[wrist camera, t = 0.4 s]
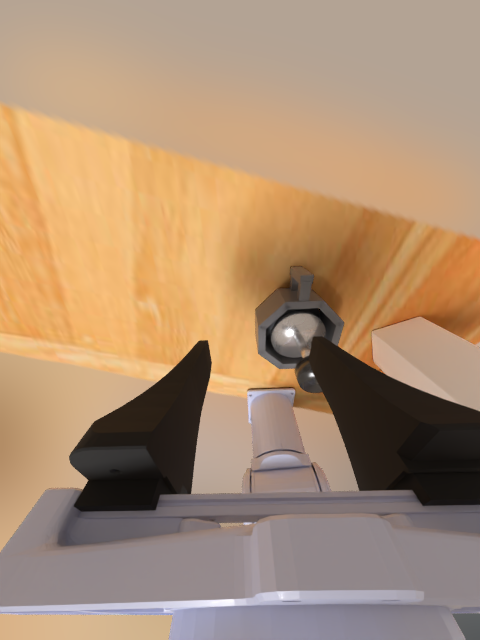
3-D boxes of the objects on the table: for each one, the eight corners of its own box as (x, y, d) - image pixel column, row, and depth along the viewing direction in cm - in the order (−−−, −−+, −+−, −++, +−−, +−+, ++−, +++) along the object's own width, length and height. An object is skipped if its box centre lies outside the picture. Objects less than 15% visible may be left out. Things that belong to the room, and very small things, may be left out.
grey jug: (318, 346, 24) (331, 366, 21) (255, 349, 25) (258, 369, 21) (336, 263, 19) (358, 273, 15) (254, 268, 19) (258, 278, 16)
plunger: (318, 353, 21) (347, 400, 15) (269, 355, 21) (280, 403, 16) (328, 309, 18) (368, 349, 12) (271, 312, 18) (285, 352, 13)
